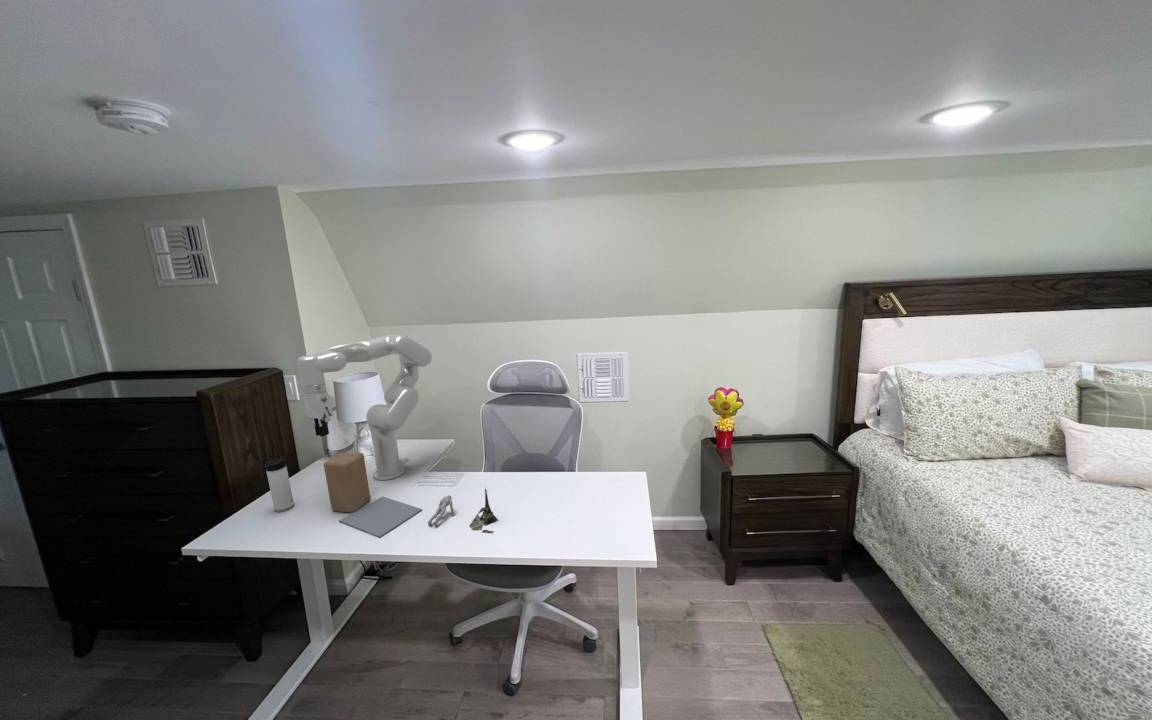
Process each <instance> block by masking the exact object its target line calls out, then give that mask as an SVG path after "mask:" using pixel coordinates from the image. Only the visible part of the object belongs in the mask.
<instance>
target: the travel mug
mask: <svg viewBox="0 0 1152 720" xmlns="http://www.w3.org/2000/svg"><path fill="white" fill-rule="evenodd" d="M264 466H265V472H266V476H267V482H268V485H269V489H270V490H269V491H270V494H271V499H272V503H273V504H272V505H273V508H274V512H276V513H284V512H286V511H289V510H291V509H293V507H294V506H295V502H294V497H293V493H292V487H291V482H290V477H289V472H288V467H287V464H286V456H285V455H280V456H277V457H274V458H270V459H269V460H267V461H266V462H265V465H264Z"/></svg>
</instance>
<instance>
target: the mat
mask: <svg viewBox="0 0 1152 720" xmlns="http://www.w3.org/2000/svg"><path fill="white" fill-rule="evenodd" d="M422 511H423V509H422V508H420V507H416V506H413V505H410V504H407V503H404V502H401V501H398V500H395V499H392V498H390V497H386V496H383V495H382V496H380V497H378V498H377V499H375V500H373V501H371V502H369V503H367V504H365V505H363V506H362V507H361V508H359V509H358V510H357V511H355V512H353V513H349V514H348V515H345V516H344V517H343V518H341V519H339V520H338V523H341V524H343V525H346V526H348V527H351V528H353V529H356V530H358V531H361V532H363V533H367V534H369V535H371V536H374V537H375V538H378V539H381V538H383V537H384V536H385V535H387V534H389V533H390V532H392V531H393V530H394V529H396V528H397V527H400V526H401V525H403V524H404V523H405V522H407V521H409V520H410V519H412V518H413V517H415V516H416V515H418V514H419V513H421V512H422Z"/></svg>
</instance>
